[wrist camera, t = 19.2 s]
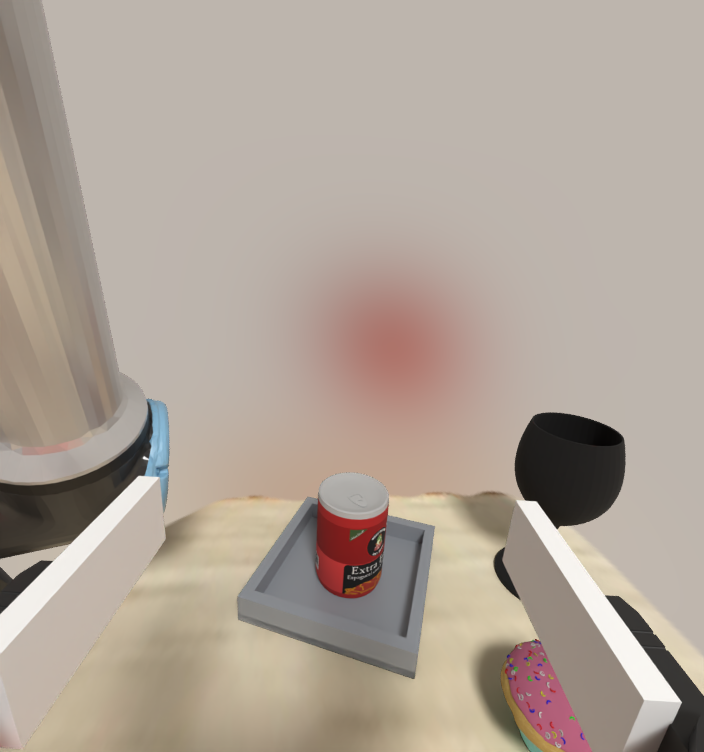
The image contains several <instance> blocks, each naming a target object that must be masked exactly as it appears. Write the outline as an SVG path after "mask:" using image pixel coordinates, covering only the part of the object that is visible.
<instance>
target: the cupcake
mask: <svg viewBox="0 0 704 752" xmlns="http://www.w3.org/2000/svg"><path fill="white" fill-rule="evenodd" d="M508 656H509V657H508ZM508 656H507V660H506V661H505V663H504V664H503V667H502V670H501V686H502V689H503V692H504V696H505V699H506V701H507V703H508V705H509V707H510V709H511V711H512V713H513V715H514V719H515V722H516V724H517V726H518V727H519V730H520V733H521V736H522V738H523V740H524V742H525V744H526V746H527V747H528V749H529V750H530V751H531V752H592V750H591V748H590V746H589V744H588V742H587V740H586V738H585V735H584V733H583V731H582V729H581V727H580V725H579V723H578V721H577V718H576V716H575V714H574V712H573V710H572V708H571V706H570V704H569V701H568V699H567V697H566V695H565V693H564V691H563V689H562V687H561V684H560V682H559V680H558V678H557V676H556V674H555V672H554V670H553V667H552V665H551V663H550V661H549V659H548V657H547V655H546V653H545V650H544V648H543V646H542V644H541V642H540V641H539V640H537V639H535V641H534V640H532V641H530V642H524V643H520V644H519V645H516V646H515V649H514V650H513V651H512V652H511V653H510V655H508Z"/></svg>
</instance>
